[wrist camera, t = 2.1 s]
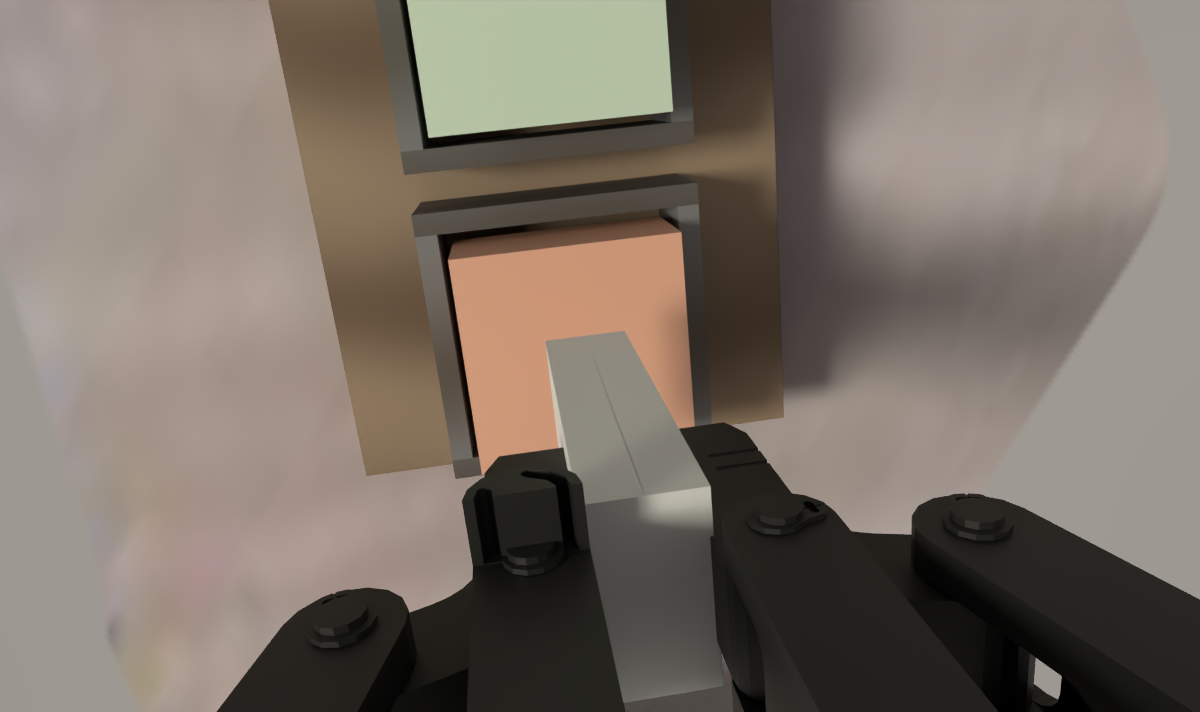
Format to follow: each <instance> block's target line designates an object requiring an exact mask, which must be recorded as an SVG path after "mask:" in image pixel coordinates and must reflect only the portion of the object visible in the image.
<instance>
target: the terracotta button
mask: <svg viewBox="0 0 1200 712" xmlns="http://www.w3.org/2000/svg"><path fill="white" fill-rule="evenodd" d="M448 263H449V270H450V276H451V282H452V289H453V295H454V301H455V308H456V314H457V320H458V327H459V333H460V339H461V345H462V352H463V358H464V364H465V371H466V377H467V383H468V390H469V396H470V402H471V409H472V415H473V421H474V428H475V434H476V440H477V447H478V453H479V459H480V465H481V472H482V475H485V472H486V471H487V470H488V468H489V467H490V466H491V465H492V464H493V463H494V461H495V460H496V459H497V458H498V457H499V456H505V455H512V454H519V453H527V452H534V451H541V450H548V449H555V448H558V440H557V432H556V424H555V416H554V408H553V400H552V392H551V384H550V376H549V368H548V360H547V352H546V344H545V341H549V340H556V339H564V338H572V337H580V336H587V335H595V334H603V333H610V332H618V331H625V333H626V334H627V336H628V338H629V340H630V342H631V343H632V345H633V347H634V349H635V351H636V352H637V354H638V356H639V358H640V360H641V361H642V363H643V365H644V367H645V369H646V370H647V372H648V374H649V376H650V378H651V379H652V381H653V383H654V385H655V387H656V388H657V390H658V392H659V394H660V396H661V398H662V399H663V401H664V403H665V405H666V407H667V408H668V410H669V412H670V414H671V416H672V417H673V419H674V421H675V423H676V425H677V426H678V428H679V429H680V428H687V427H694V426H695V423H694V409H693V394H692V380H691V365H690V350H689V336H688V321H687V307H686V292H685V278H684V263H683V248H682V234H681V232H680V231H679V230H678V229H676V228H675V227H674V226H672V225H671V224H670V223H668V222H667V221H665V220H664V219H663V218H661V217H660V216H657V217H649V218H641V219H632V220H624V221H615V222H607V223H598V224H590V225H581V226H573V227H564V228H556V229H547V230H539V231H531V232H522V233H514V234H505V235H497V236H488V237H480V238H471V239H463V240H454V242H453V245H452V248H451V252H450V255H449V259H448Z"/></svg>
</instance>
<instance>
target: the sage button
mask: <svg viewBox="0 0 1200 712" xmlns="http://www.w3.org/2000/svg"><path fill="white" fill-rule="evenodd" d="M407 4H408V11H409V17H410V23H411V30H412V36H413V42H414V49H415V55H416V61H417V68H418V74H419V80H420V86H421V93H422V99H423V105H424V112H425V118H426V124H427V131H428V137H429V138H432V137H441V136H450V135H459V134H469V133H478V132H487V131H497V130H506V129H515V128H525V127H534V126H543V125H552V124H562V123H571V122H580V121H590V120H599V119H608V118H618V117H627V116H636V115H645V114H655V113H664V112H673V103H672V88H671V74H670V59H669V44H668V30H667V15H666V1H665V0H407Z"/></svg>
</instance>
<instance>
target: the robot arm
mask: <svg viewBox="0 0 1200 712" xmlns="http://www.w3.org/2000/svg"><path fill="white" fill-rule="evenodd" d="M545 344H546V352H547V360H548V368H549V376H550V384H551V392H552V400H553V408H554V416H555V424H556V432H557V440H558V448H555V449H548V450H541V451H534V452H527V453H519V454H512V455H505V456H499V457H498V458H497V459H496V460H495V461H494V463H493V464H492V465H491V466H490V467H489V468H488V470H487V471H486V472H485V478H482V479H480V480H479V481H478V482H476V483H475V484H474V485H473V486H471V487H470V488H469V489H467V491H466V493H465V495H464V498H463V500H462V504H463V510H464V516H465V522H466V527H467V533H468V539H469V545H470V551H471V557H472V563H473V580H471V581H470V582H469V583H468V584H467V585H466V586H465V587H464V588H463V589H461V590H460V591H458V592H456V593H455V594H453V595H452V596H450V597H448V598H446V599H444V600H442V601H439V602H437V603H435V604H432V605H430V606H427V607H424V608H421V609H419V610H416V611H413V612H410V613H409V610H408V608H407V606H406V604H405V602H404V600H403V598H402V597H400V596H398V595H396V594H395V593H393V592H391V591H389V590H383V589H374V588H362V589H354V590H344V591H339V592H335V593H336V594H330V595H327V596H325V597H322V598H320V599H319V600H317V601H315V602H313V603H312V604H310V605H308V606H306V607H305V608H303V609H301V610H299V611H298V612H297V613H296V614H295V615H294V616H292V617H291V618H290V619H289V620H288V621H287V622H286V623H285V624H284V625H283V626H282V627H281V628H280V630H279V631H278V632H277V634H276V635H275V636H274V638H273V639H272V640H271V642H270V643H269V644H268V645H267V647H266V648H265V649H264V651H263V652H262V653H261V655H260V656H259V657H258V659H257V660H256V661H255V662H254V664H253V665H252V666H251V668H250V669H249V670H248V672H247V673H246V674H245V675H244V677H243V678H242V679H241V681H240V682H239V683H238V685H237V686H236V687H235V689H234V690H233V691H232V692H231V694H230V695H229V696H228V698H227V699H226V700H225V702H224V703H223V704H222V706H221V707H220V708H219V709H218V711H217V712H625V708H624V703H628V702H634V701H640V700H646V699H651V698H657V697H663V696H669V695H675V694H681V693H687V692H693V691H699V690H705V689H711V688H717V687H723V672H722V656H721V652H722V654H723V657H724V659H725V662H726V664H727V666H728V669H729V671H730V674H731V676H732V693H733V709H734V712H1200V600H1199V599H1198V598H1196V597H1193V596H1192V595H1190V594H1188V593H1186V592H1184V591H1182V590H1180V589H1178V588H1176V587H1174V586H1173V585H1170V584H1168V583H1167V582H1165V581H1163V580H1161V579H1159V578H1157V577H1155V576H1153V575H1151V574H1149V573H1148V572H1145V571H1144V570H1142V569H1140V568H1138V567H1136V566H1134V565H1132V564H1130V563H1128V562H1126V561H1124V560H1123V559H1121V558H1118V557H1117V556H1115V555H1113V554H1111V553H1109V552H1107V551H1105V550H1103V549H1101V548H1099V547H1097V546H1096V545H1094V544H1092V543H1090V542H1088V541H1086V540H1084V539H1082V538H1080V537H1078V536H1076V535H1074V534H1073V533H1071V532H1069V531H1067V530H1065V529H1063V528H1061V527H1059V526H1057V525H1055V524H1053V523H1051V522H1050V521H1048V520H1046V519H1044V518H1042V517H1040V516H1038V515H1036V514H1034V513H1032V512H1030V511H1028V510H1026V509H1025V508H1022V507H1020V506H1017V505H1014V504H1012V503H1009V502H1007V501H1004V500H1001V499H995V498H990V497H985V496H984V495H980V494H968V495H965V494H953V495H950V496H944V497H939V498H933V499H931V500H929V501H927V502H925V503H923V504H921V505H919V506H918V507H917V509H916V510H915V512H914V513H913V515H912V535H905V534H873V533H861V532H853V531H851V530H850V529H849V528H848V527H847V526H846V524H845V523H844V522H843V521H842V519H841V518H840V517H839V516H838V515H837V513H836V512H835V511H834V510H833V509H831V508H830V507H829V506H827V505H826V504H825V503H823V502H822V501H819V500H816V499H813V498H811V497H808V496H805V495H799V494H792V493H791V492H790V490H789V489H788V488H787V486H786V485H785V484H784V482H783V481H782V480H781V478H780V477H779V476H778V474H777V473H776V472H775V470H774V469H773V468H772V466H771V465H770V464H769V463H767V460H766V458H765V457H764V456H763V454H762V453H761V452H760V451H758V448H757V446H756V445H755V444H754V442H753V441H752V440H751V438H750V437H749V436H748V434H747V433H745V432H743V431H741V430H739V429H737V428H735V427H733V426H731V425H729V424H727V423H725V422H722V423H715V424H708V425H701V426H694V427H687V428H680V429H679V428H678V426H677V425H676V423H675V421H674V419H673V417H672V416H671V414H670V412H669V410H668V408H667V407H666V405H665V403H664V401H663V399H662V398H661V396H660V394H659V392H658V390H657V388H656V387H655V385H654V383H653V381H652V379H651V378H650V376H649V374H648V372H647V370H646V369H645V367H644V365H643V363H642V361H641V360H640V358H639V356H638V354H637V352H636V351H635V349H634V347H633V345H632V343H631V342H630V340H629V338H628V336H627V334H626V333H625V331H618V332H610V333H603V334H595V335H587V336H580V337H572V338H564V339H556V340H549V341H545ZM1036 658H1037V659H1039V660H1040V661H1041V662H1043V663H1044V664H1046V665H1047V666H1048V667H1050V668H1051V669H1053V670H1054V671H1055V672H1057V673H1059V674H1060V675H1061V676H1062V680H1061V691H1060V696H1059V699H1056V698H1054V697H1052V696H1050V695H1048V694H1046V693H1045V692H1044V691H1042V690H1041V689H1040V688H1039V687H1037V686H1036V685H1034V673H1035V659H1036Z"/></svg>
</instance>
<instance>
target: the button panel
mask: <svg viewBox="0 0 1200 712" xmlns="http://www.w3.org/2000/svg"><path fill="white" fill-rule="evenodd" d="M665 1H666V15H667V30H668V44H669V59H670V74H671V88H672V103H673V112H664V113H655V114H645V115H636V116H627V117H618V118H608V119H599V120H590V121H580V122H571V123H562V124H552V125H543V126H534V127H525V128H515V129H506V130H497V131H487V132H478V133H469V134H459V135H450V136H441V137H432V138H429V137H428V131H427V124H426V118H425V112H424V105H423V99H422V93H421V86H420V80H419V74H418V68H417V61H416V55H415V49H414V42H413V36H412V30H411V23H410V17H409V11H408V4H407V0H269V5H270V10H271V15H272V19H273V24H274V29H275V34H276V39H277V44H278V49H279V53H280V58H281V63H282V68H283V73H284V78H285V83H286V87H287V92H288V97H289V102H290V107H291V112H292V116H293V121H294V126H295V131H296V136H297V141H298V146H299V150H300V155H301V160H302V165H303V170H304V175H305V179H306V184H307V189H308V194H309V199H310V204H311V209H312V213H313V218H314V223H315V228H316V233H317V238H318V242H319V247H320V252H321V257H322V262H323V267H324V272H325V276H326V281H327V286H328V291H329V296H330V301H331V306H332V310H333V315H334V320H335V325H336V330H337V335H338V339H339V344H340V349H341V354H342V359H343V364H344V369H345V373H346V378H347V383H348V388H349V393H350V398H351V402H352V407H353V412H354V417H355V422H356V427H357V432H358V436H359V441H360V446H361V451H362V456H363V461H364V465H365V470H366V475H367V476H370V475H377V474H384V473H391V472H398V471H405V470H412V469H419V468H427V467H434V466H441V465H448V464H453V466H454V472H455V478H456V479H458V478H465V477H472V476H479V475H482V472H481V465H480V459H479V453H478V447H477V440H476V434H475V428H474V421H473V415H472V409H471V402H470V396H469V390H468V383H467V377H466V371H465V364H464V358H463V352H462V345H461V339H460V333H459V327H458V320H457V314H456V308H455V301H454V295H453V289H452V282H451V276H450V270H449V263H448V259H449V255H450V252H451V248H452V245H453V242H454V240H463V239H471V238H480V237H488V236H497V235H505V234H514V233H522V232H531V231H539V230H547V229H556V228H564V227H573V226H581V225H590V224H598V223H607V222H615V221H624V220H632V219H641V218H649V217H657V216H660V217H661V218H663V219H664V220H665V221H667V222H668V223H670V224H671V225H672V226H674V227H675V228H676V229H678V230H679V231H680V232H681V234H682V248H683V263H684V278H685V292H686V307H687V321H688V336H689V350H690V365H691V380H692V394H693V409H694V423H695V426H701V425H708V424H715V423H722V422H725V423H727V424H729V425H732V424H740V423H747V422H754V421H761V420H768V419H775V418H782V417H784V408H783V377H782V346H781V315H780V284H779V253H778V222H777V191H776V160H775V129H774V98H773V67H772V36H771V4H770V0H665Z"/></svg>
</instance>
